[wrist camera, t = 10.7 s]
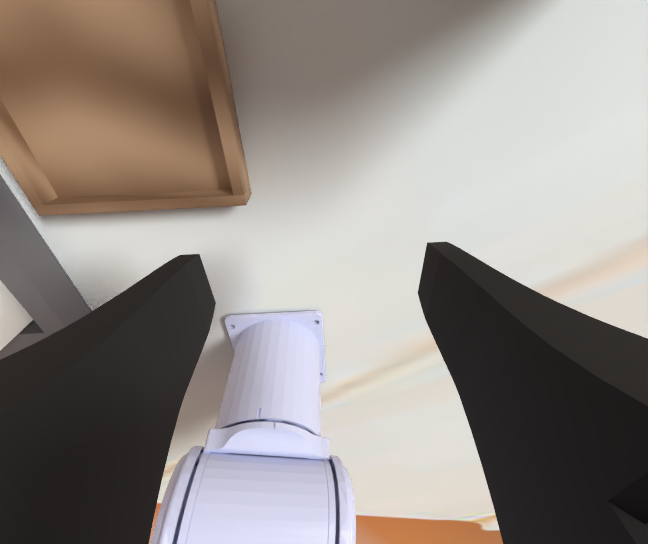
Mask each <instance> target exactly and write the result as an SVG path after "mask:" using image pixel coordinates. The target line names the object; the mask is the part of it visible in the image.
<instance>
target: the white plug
mask: <svg viewBox="0 0 648 544" xmlns="http://www.w3.org/2000/svg"><path fill="white" fill-rule="evenodd" d="M32 320H33V318H32V317H31V316H30V315H29V314H28V312H27V311H26V310H25V309H24V308H23V307H22V305H21V304H20V303H19V302H18V301H17V299H16V298H15V297H14V296H13V295H12V293H11V292H10V291H9V290H8V289H7V287H6V286H5V285H4V284H3V283H2V282H1V280H0V350H1V349H3V348H4V347H5V346H6V345H7V344H8V343H9V342H10V341H11V340H12V339H13V338H14V337H15V336H16V335H17V334H19V333H20V332H21V331H22V330H23V329H24V328H25V327H26V326H27V325H28V324H29V323H30V322H31V321H32Z"/></svg>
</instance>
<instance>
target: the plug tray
mask: <svg viewBox="0 0 648 544" xmlns="http://www.w3.org/2000/svg"><path fill="white" fill-rule="evenodd" d="M0 156H1V157H2V159H3V160H4V162H5V163H6V165H7V166H8V168H9V170H10V171H11V173H12V174H13V176H14V177H15V179H16V180H17V182H18V184H19V185H20V187H21V188H22V190H23V191H24V193H25V194H26V196H27V198H28V199H29V201H30V202H31V204H32V205H33V207H34V208H35V210H36V212H37V213H38V215H58V214H78V213H99V212H119V211H139V210H159V209H179V208H200V207H220V206H240V205H246V204H247V202H248V200H249V198H250V196H251V190H250V184H249V179H248V173H247V168H246V163H245V157H244V152H243V147H242V141H241V136H240V131H239V125H238V120H237V115H236V109H235V104H234V99H233V93H232V88H231V83H230V77H229V72H228V67H227V61H226V56H225V51H224V45H223V40H222V35H221V29H220V24H219V18H218V13H217V8H216V2H215V0H0Z"/></svg>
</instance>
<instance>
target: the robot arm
mask: <svg viewBox="0 0 648 544" xmlns="http://www.w3.org/2000/svg"><path fill="white" fill-rule="evenodd" d="M418 295H419V299H420V302H421V306H422V309H423V313H424V316H425V319H426V321H427V324H428V326H429V328H430V330H431V333H432V335H433V337H434V339H435V341H436V344H437V346H438V348H439V350H440V352H441V354H442V357H443V359H444V361H445V363H446V365H447V367H448V370H449V372H450V374H451V376H452V378H453V381H454V383H455V385H456V388H457V390H458V393H459V395H460V398H461V401H462V404H463V407H464V410H465V413H466V416H467V419H468V422H469V425H470V428H471V431H472V434H473V438H474V441H475V444H476V447H477V450H478V454H479V457H480V460H481V463H482V467H483V470H484V474H485V477H486V481H487V484H488V488H489V491H490V495H491V498H492V502H493V505H494V509H495V513H496V517H497V521H498V525H499V529H500V532H501V536H502V540H503V544H648V339H647V338H644V337H642V336H639V335H636V334H634V333H631V332H628V331H626V330H623V329H620V328H618V327H615V326H612V325H610V324H607V323H605V322H602V321H600V320H597V319H595V318H592V317H590V316H587V315H585V314H583V313H581V312H578V311H576V310H574V309H572V308H569V307H567V306H565V305H563V304H560V303H558V302H556V301H554V300H552V299H550V298H548V297H545V296H543V295H541V294H540V293H538V292H536V291H534V290H532V289H530V288H528V287H526V286H524V285H522V284H520V283H518V282H517V281H515V280H513V279H511V278H509V277H508V276H506V275H504V274H502V273H501V272H499V271H497V270H495V269H494V268H492V267H490V266H489V265H487V264H485V263H483V262H482V261H480V260H478V259H477V258H475V257H473V256H472V255H470V254H468V253H467V252H465V251H463V250H461V249H460V248H458V247H456V246H454V245H452V244H450V243H448V242H433V243H427V247H426V252H425V258H424V263H423V268H422V274H421V279H420V284H419V290H418ZM215 304H216V303H215V300H214V297H213V294H212V291H211V288H210V285H209V282H208V279H207V276H206V273H205V270H204V267H203V264H202V261H201V258H200V255H199V254H192V255H179V256H177V257H176V258H174V259H172V260H170V261H169V262H167V263H166V264H164V265H162V266H161V267H159V268H158V269H156V270H155V271H153V272H152V273H151V274H149V275H148V276H146V277H145V278H143V279H142V280H140V281H139V282H137V283H136V284H134V285H133V286H131V287H130V288H128V289H127V290H125V291H124V292H122V293H121V294H119V295H118V296H116V297H114V298H113V299H111V300H110V301H108V302H106V303H105V304H103V305H102V306H100V307H98V308H97V309H95V310H94V311H92V312H90V313H89V314H87V315H86V316H84V317H82V318H80V319H79V320H77V321H75V322H73V323H72V324H70V325H68V326H66V327H65V328H63V329H61V330H59V331H57V332H55V333H53V334H51V335H50V336H48V337H46V338H44V339H42V340H40V341H38V342H36V343H34V344H32V345H30V346H28V347H26V348H24V349H22V350H20V351H18V352H16V353H13V354H11V355H9V356H7V357H5V358H3V359H1V360H0V544H148V543H149V538H150V533H151V528H152V522H153V518H154V513H155V508H156V504H157V499H158V494H159V490H160V485H161V480H162V476H163V472H164V468H165V464H166V460H167V456H168V452H169V448H170V444H171V440H172V436H173V432H174V429H175V425H176V421H177V418H178V414H179V410H180V407H181V404H182V401H183V398H184V395H185V393H186V390H187V387H188V385H189V382H190V380H191V377H192V375H193V372H194V370H195V367H196V364H197V362H198V359H199V357H200V354H201V352H202V349H203V346H204V344H205V341H206V339H207V336H208V333H209V330H210V326H211V322H212V318H213V313H214V309H215ZM315 320H318V321H315ZM224 322H225V326H226V329H227V332H228V335H229V338H230V341H231V344H232V347H233V350H234V357H233V361H232V365H231V368H230V372H229V376H228V380H227V384H226V387H225V391H224V395H223V399H222V402H221V406H220V410H219V414H218V418H217V421H216V425H215V429H210V430H209V432H208V436H207V440H206V443H205V447H202V446H194V447H193V448H191V449H190V451H189V452H188V453H187V454H185V455H184V456H183V457H182V458H181V459H180V460H179V462H178V463H177V465H176V467H175V469H174V472H173V474H172V476H171V479H170V481H169V484H168V487H167V489H166V492H165V495H164V498H163V501H162V504H161V508H160V511H159V515H158V518H157V522H156V525H155V529H154V533H153V537H152V541H151V544H355V540H356V517H355V516H356V515H355V502H354V494H353V488H352V483H351V479H350V476H349V473H348V471H347V469H346V468H345V466H344V465H343V463H342V461H341V459H340V458H339V457H338V456H334V455H329V439H328V438H325V437H321V399H320V383H324V382H325V381H326V375H325V358H324V341H323V324H322V313H321V312H319V311H301V312H281V313H262V314H242V315H228V316H226V318H225V320H224ZM232 325H234V326H232Z"/></svg>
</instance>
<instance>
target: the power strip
mask: <svg viewBox="0 0 648 544" xmlns="http://www.w3.org/2000/svg"><path fill="white" fill-rule="evenodd" d="M0 280H1V282H2V283H3V284H4V285H5V286H6V287H7V289H8V290H9V291H10V292H11V293H12V295H13V296H14V297H15V298H16V299H17V301H18V302H19V303H20V304H21V305H22V307H23V308H24V309H25V310H26V311H27V312H28V314H29V315H30V316H31V317H32V318H33V320H32V321H31V322H30V323H29V324H28V325H27V326H26V327H25V328H24V329H23V330H22V331H21V332H20V333H19V334H17V335H16V336H15V337H14V338H13V339H12V340H11V341H10V342H9V343H8V344H7V345H6V346H5V347H4V348H3V349H1V350H0V360H1V359H3V358H5V357H7V356H9V355H11V354H13V353H16V352H18V351H20V350H22V349H24V348H26V347H28V346H30V345H32V344H34V343H36V342H38V341H40V340H42V339H44V338H46V337H48V336H50V335H51V334H53V333H55V332H57V331H59V330H61V329H63V328H65V327H66V326H68V325H70V324H72V323H73V322H75V321H77V320H79V319H80V318H82V317H84V316H86V315H87V314H89V313H90V312H92V311H91V310H90V308H89V307H88V305H87V304H86V302H85V301H84V299H83V298H82V296H81V295H80V293H79V292H78V290H77V289H76V288H75V286H74V285H73V283H72V282H71V280H70V279H69V277H68V276H67V274H66V273H65V271H64V270H63V268H62V267H61V265H60V264H59V262H58V261H57V259H56V258H55V256H54V255H53V253H52V252H51V250H50V249H49V247H48V246H47V244H46V243H45V241H44V240H43V238H42V237H41V235H40V234H39V232H38V231H37V229H36V228H35V226H34V225H33V223H32V222H31V220H30V219H29V217H28V216H27V214H26V213H25V211H24V210H23V208H22V207H21V205H20V204H19V202H18V201H17V199H16V198H15V196H14V195H13V193H12V192H11V190H10V189H9V187H8V186H7V184H6V183H5V181H4V180H3V178H2V177H1V175H0Z"/></svg>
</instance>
